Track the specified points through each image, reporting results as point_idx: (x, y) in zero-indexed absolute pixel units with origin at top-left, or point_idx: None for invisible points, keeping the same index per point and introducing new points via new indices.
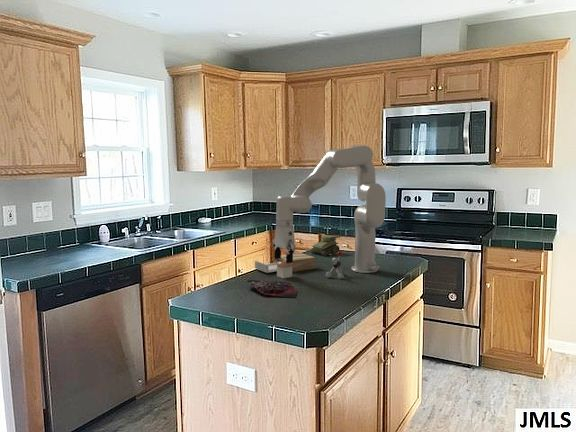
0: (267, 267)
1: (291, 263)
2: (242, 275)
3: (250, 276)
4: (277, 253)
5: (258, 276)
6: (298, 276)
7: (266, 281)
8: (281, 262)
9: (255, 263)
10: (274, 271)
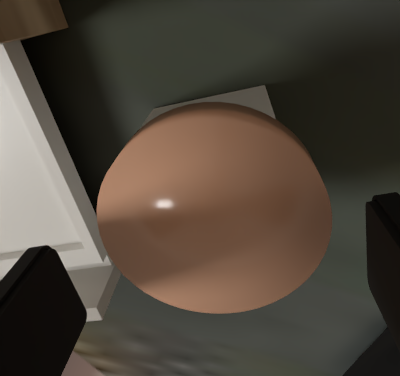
0: (107, 298)
1: (312, 164)
2: (102, 370)
3: (139, 346)
4: (40, 359)
5: (154, 312)
6: (281, 7)
7: (372, 345)
8: (213, 270)
9: None
10: (90, 204)
